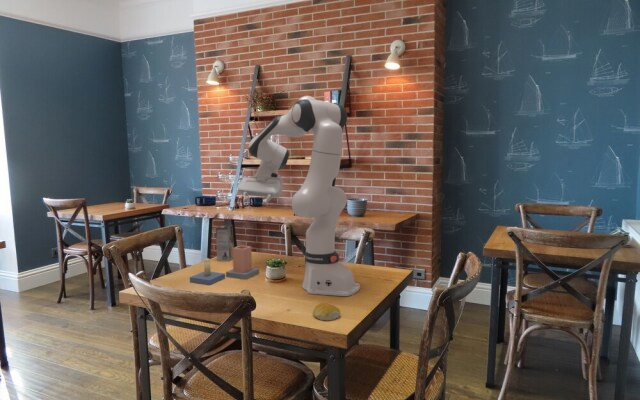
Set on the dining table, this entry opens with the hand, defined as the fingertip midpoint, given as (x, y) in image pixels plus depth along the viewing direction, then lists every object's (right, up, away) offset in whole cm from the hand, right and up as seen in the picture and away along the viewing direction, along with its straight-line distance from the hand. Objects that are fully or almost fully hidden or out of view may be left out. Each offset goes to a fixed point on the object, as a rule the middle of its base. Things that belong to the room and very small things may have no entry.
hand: (254, 202), depth 197 cm
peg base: (-17, -32, -13) cm, 39 cm away
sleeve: (-4, -29, -7) cm, 30 cm away
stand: (-4, -31, -6) cm, 32 cm away
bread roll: (+31, -37, -52) cm, 71 cm away
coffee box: (-17, -28, +20) cm, 38 cm away
